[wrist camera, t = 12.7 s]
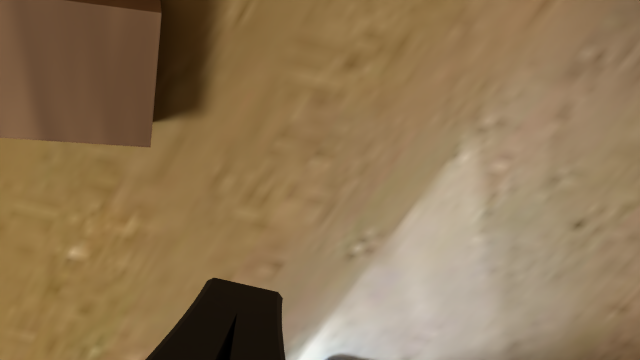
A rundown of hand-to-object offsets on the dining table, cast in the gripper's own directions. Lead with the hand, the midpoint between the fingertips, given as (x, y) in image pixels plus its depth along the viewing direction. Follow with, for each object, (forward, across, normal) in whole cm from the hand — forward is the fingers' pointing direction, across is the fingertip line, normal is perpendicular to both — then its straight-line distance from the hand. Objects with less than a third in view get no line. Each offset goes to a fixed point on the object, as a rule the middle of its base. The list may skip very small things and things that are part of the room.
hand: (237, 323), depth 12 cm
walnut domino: (+9, +4, 0) cm, 10 cm away
